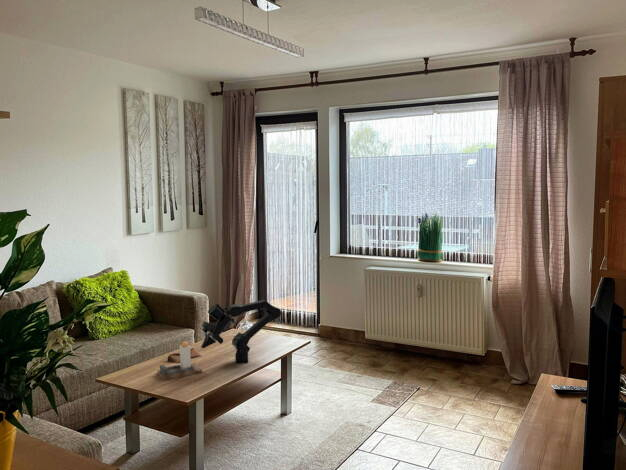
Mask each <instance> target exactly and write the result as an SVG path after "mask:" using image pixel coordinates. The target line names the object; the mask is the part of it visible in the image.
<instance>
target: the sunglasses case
mask: <svg viewBox="0 0 626 470" xmlns="http://www.w3.org/2000/svg"><path fill="white" fill-rule="evenodd" d="M190 356H191V360H192V359H196V358H199V357H202V355H201V354H200V353H199V352H197V350H195V348H190ZM167 362H170V363H174V364H180V351H179V352H177V353H171V354H169V355H168V356H167Z"/></svg>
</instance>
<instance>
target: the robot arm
mask: <svg viewBox="0 0 626 470" xmlns="http://www.w3.org/2000/svg"><path fill="white" fill-rule="evenodd" d="M260 309H263V310H264V313H263V316H261V318H259V319H258V320H257V321H256V322H255V323H254V324H252V325H251V326H250V327H249V328H248V329H247V330H246V331H245V332H243V333H241V332H237V334H236V335H234V336H233V338H232V339H231V340H232V341H231V344H232V346H233V347H234V349H235V350H236V351H235V362H236V364H244V363H245V364H246V363H247V364H248V363H249V352H250V350H251V348H250V347H249V346H248V344H249V342H250V340H251V339H252V338H253V337H254V336H256V334H257V333H259V332H260V331H261V330H262V329H263V328H264V327H265V326H267V325H268V324H269V323H270V322H273V321H276V320H277V319H279V318H280V317H281V315H282V310H281V309H280V308H278V307H276V306H274V305H272V304H271V303H270V302H268V301H267V300H264V299H261V300H258V301H253V302H250V303H249V302H248V303H244V304H229V305H227V307H226V306H225V307H223V308H222V307H221V306H220V304H218V303H215V304H214V305H212V306H211V307H209V309H208V310H207V313H208V314H209V315H210V316H211V317H212V318H213V319H214V320H217V321H216V322H215V321H214V322H211V321H209V322H208V321H205V320H204V321H202V325H201V327H202V329H201V331H203V332H204V337H205V338H204V340H203V342H202V344H201V347H200V348H202V349H206V348H207V347H209V346H211V345H213V344H216V343H219V345H222V344H223V342H224V339H223V337H222V336H221V334H222V333H223V332H225V331H226V328H227V327H228V326H229V324H230V323H232V324H235V318H236V317H239V316H241V315H243V314H244V313H247V312H252V311H256V310H260Z"/></svg>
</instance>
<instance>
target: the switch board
mask: <svg viewBox="0 0 626 470" xmlns="http://www.w3.org/2000/svg"><path fill="white" fill-rule="evenodd" d="M202 373H203V369H202V368H201V367H200V366H199V365H197V364H196V363H191V367H188V368H183V369H181V368H180V364H175V365H171V366H170V365H169V366H166V365H165V364H161V365H159V369H158V370H157V374H158V375H159V376H160V377H161V379H163V380H164V381H165V380H171V379H175V378H181V377H187V376H191V375H197V374H202Z"/></svg>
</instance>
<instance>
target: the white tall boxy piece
mask: <svg viewBox="0 0 626 470" xmlns="http://www.w3.org/2000/svg"><path fill="white" fill-rule="evenodd" d="M190 349H191V346H190V344H189V342H188V341H182V342H181V343H180V345H179V352H180V363H179V365H180V368H181V369H183V368H188V367H191V364H192V361H191V360H192V359H191V356H190Z"/></svg>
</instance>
